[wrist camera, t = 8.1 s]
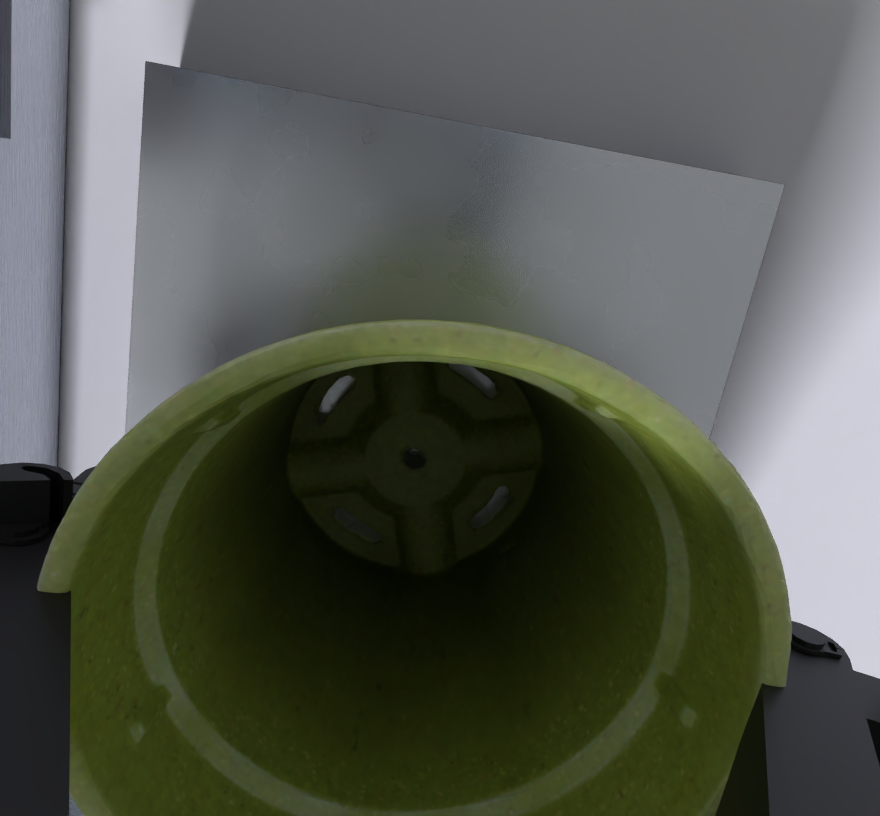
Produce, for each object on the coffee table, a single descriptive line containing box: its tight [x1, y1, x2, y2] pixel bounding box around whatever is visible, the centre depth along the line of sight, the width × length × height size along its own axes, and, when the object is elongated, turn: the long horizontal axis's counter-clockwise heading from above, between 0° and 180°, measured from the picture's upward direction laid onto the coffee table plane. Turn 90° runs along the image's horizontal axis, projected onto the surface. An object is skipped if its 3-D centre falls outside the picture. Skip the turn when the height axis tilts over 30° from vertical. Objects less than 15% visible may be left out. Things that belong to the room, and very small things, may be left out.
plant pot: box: [37, 319, 792, 816], centre depth 13 cm, size 9×9×9 cm
